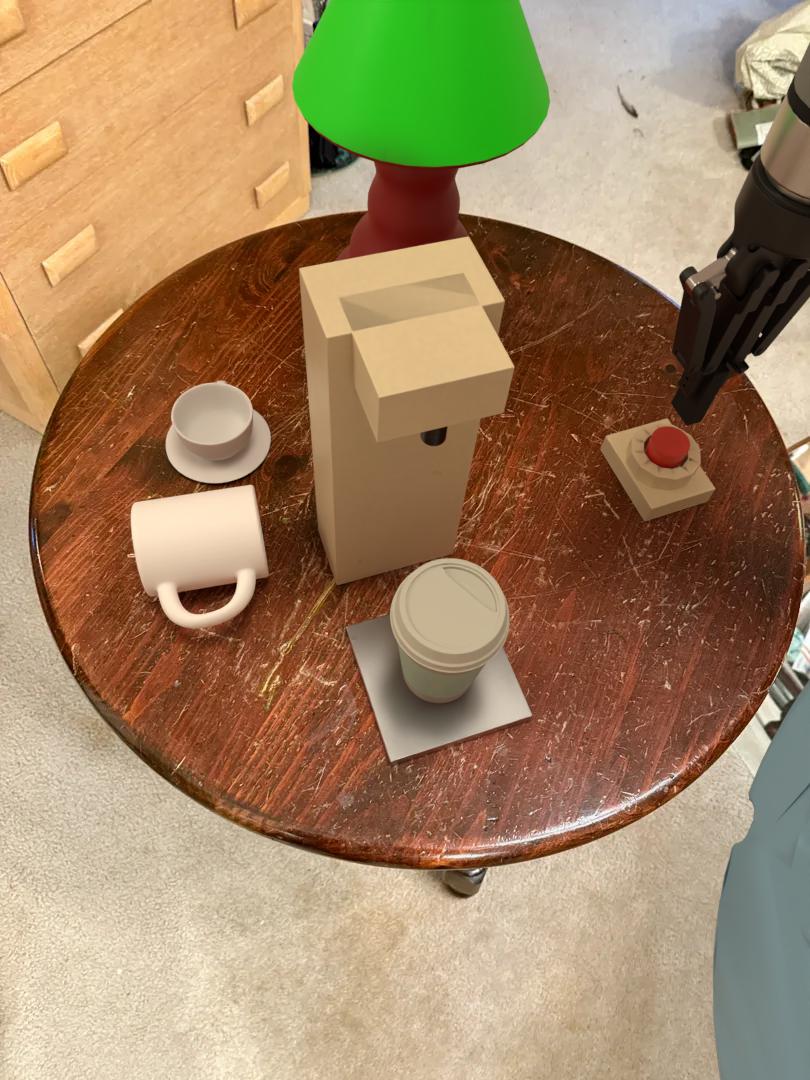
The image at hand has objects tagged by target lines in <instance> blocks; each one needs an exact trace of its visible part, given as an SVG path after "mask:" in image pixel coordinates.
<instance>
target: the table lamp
mask: <svg viewBox="0 0 810 1080" xmlns="http://www.w3.org/2000/svg"><path fill="white" fill-rule="evenodd" d="M291 87H292V93H293V98H294V103H295V104H296V105H297V107H298V109H299V111H300V114H301V115H302V117H303V119H304V120H305V121H306V122H307V123H308V124H309V126H310V127H312V129H314V131H315V132H316V133H317V134H318V135H320V136H321V137H322V138H324V139H325V140H327V141H328V142H329V143H331V145H333V146H335V147H337V148H340V149H341V150H344V151H345V152H348V153H350V154H351V155H353V156H356V157H358V158H361V159H365V160H368V161H371V162H373V164H374V167H375V173H374V177H373V178H372V181H371V183H370V186H369V189H368V192H367V201H366V202H367V203H366V204H367V212H366V213H365V214H364V215H363V216H361V218H360V220H359V221H358V222H357V223H356V225H355V226H354V228H353V231H352V233H351V236H350V240H349V245H348V246H346V247H345V248H344V249H343V250H342V251H341V252H340V253H339V254H338V256H337V257H336V258H335V260H334V261H333V262H335V261H340V260H345V259H351V258H356V257H361V256H367V255H372V254H377V253H383V252H388V251H394V250H399V249H404V248H410V247H415V246H420V245H426V244H431V243H436V242H442V241H447V240H452V239H458V238H463V237H469V234H468V232H467V230H466V228H465V227H464V225H463V224H462V222H461V221H460V220H459V214H460V211H461V210H460V209H461V197H460V192H459V188H458V184H457V181H456V178H457V174H458V171H459V169H465V168H468V167H473V166H479V165H483V164H486V163H490V162H492V161H495V160H497V159H500V158H503V157H505V156H508V155H509V154H511V153H512V152H514V151H516V150H518V149H519V148H521V147H523V146H524V145H525V144H526V143H528V141H529V140H530V139H532V137H534V136H535V134H537V132H538V131H539V130H540V128H541V127H542V125H543V123H544V121H545V120H546V118H548V117H547V116H548V112H549V108H550V104H551V100H550V91H549V85H548V82H547V79H546V76H545V73H544V71H543V68H542V64H541V61H540V58H539V55H538V53H537V49H536V47H535V43H534V40H533V37H532V34H531V31H530V29H529V25H528V21H527V18H526V16H525V13H524V10H523V6H522V3H521V0H328V3H327V5H326V7H325V8H324V11H323V13H322V14H321V16H320V19H319V21H318V23H317V25H316V27H315V29H314V31H313V33H312V35H311V37H310V39H309V41H308V42H307V45H306V47H305V49H304V50H303V53H302V55H301V58H300V59H299V61H298V64H297V65H296V67H295V69H294V72H293V77H292V84H291ZM498 337H499V338H500V337H501V327H500V328H499V333H498Z"/></svg>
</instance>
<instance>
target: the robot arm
mask: <svg viewBox="0 0 810 1080" xmlns="http://www.w3.org/2000/svg"><path fill="white" fill-rule="evenodd" d="M733 209H734V210H733V211H734V212H733V216H734V217H733V218H734V219H733V230H732V232H731V233H730V235H729V236H728V238H727V239H726V240H725V241H724V242H723V243H722V244H721V246H720V247H719V248H718V251H717V253H716V260H714V261H713V262H711V263H709V264H708V265H706V266H705V267H704V268H702V269H701V270H699V271H698V270H697V269H696V268H695V267H694V266H692V265H690V266H687V267H686V268H684V269H683V270H681V272H680V273H679V276H678V280H679V282H680V285H681V287H682V290H683V291H682V296H681V303H680V308H679V312H678V318H677V323H676V328H675V334H674V339H673V344H672V350H671V353H672V354H673V356H674V357H675V358H676V360H677V361H678V363H679V364H680V366H681V367H682V368H683V372H682V374H681V376H680V378H679V380H678V382H677V383H678V384H677V386H678V388H677V390H676V392H675V394H674V396H673V398H672V400H671V402H670V404H671V406H672V407H673V409H674V410H675V412H676V413H677V414H678V416H679V417H680V419H681V421H682V422H683V423H684V425H685V426H686V427H688V426H692V425H695V424H699V423H701V422H702V421H703V419H704V417H705V416H706V414H707V412H708V410H709V409H710V407H711V405H712V404H713V402H714V400H715V398H716V397H717V395H718V393H719V392H720V390H721V389H722V388H723V386H724V385H726V383H727V381H728V379H729V378H730V376H731V374H732V373H733V371H734V372H735V373H736V374H737V375H742V374H744V373H746V372H747V371H748V370H749V369H750V365H749V363H747V362H746V359H747V357H748V356H749V355H752V356H753V357H759V356H761V355H763V354H764V353H766V351H767V350H768V348H769V347H770V346H771V345H772V344H773V342H774V341H775V340H776V339H777V338H778V336H779V335H780V334H781V333H782V331H783V330H784V329H785V328H786V327H787V326H788V324H789V323H790V322H791V321H792V320H793V318H794V317H795V316H796V314H798V313H799V311H800V310H801V309H802V308H803V306H804V305H805V304H806V302H807V301H808V300H809V299H810V42H809V43H808V45H807V47H806V49H805V51H804V54H803V56H802V59H801V60H800V62H799V65H798V67H797V69H796V72H795V74H794V75H793V78H792V79H791V82H790V84H789V86H788V88H787V91H786V94H785V96H784V98H783V100H782V102H781V104H780V106H779V108H778V110H777V113H776V115H775V117H774V119H773V121H772V124H771V126H770V127H769V130H768V132H767V134H766V136H765V138H764V141H763V143H762V145H761V147H760V154H758V155H757V156H756V157H755V159H754V160H753V162H752V164H751V167H750V169H749V171H748V172H747V175H746V177H745V180H744V182H743V184H742V186H741V188H740V190H739V193H738V194H737V197H736V199H735V202H734V208H733ZM760 335H761V336H760ZM747 794H748V801H749V802H750V803H751V804H752V806H753V816H752V817H753V818H752V822H751V824H750V826H749V829H748V831H747V833H746V835H745V837H744V838H743V839H742V840H741V841H739V842H736V843H733V845H732V847H731V849H730V854H729V858H728V862H727V864H726V867H725V871H724V874H723V879H722V886H721V893H720V898H719V901H718V908H717V914H716V915H717V916H716V923H715V932H714V941H713V943H714V944H713V951H712V1019H713V1020H712V1021H713V1030H714V1044H715V1053H716V1061H717V1067H718V1075H719V1080H810V679H809V680H808V681H807V682H806V684H805V685H804V687H803V688H802V690H801V691H800V693H799V694H798V695H797V696H796V698H795V700H794V702H792V705H791V706H790V707H789V709H788V711H787V713H786V714H785V716H784V718H783V720H782V722H781V724H780V725H779V727H778V729H777V731H776V732H775V734H774V735H773V738H772V739H771V741H770V743H769V745H768V747H767V749H766V750H765V752H764V755H763V757H762V759H761V761H760V764H759V766H758V768H757V771H756V773H755V775H754V778H753V780H752V783H751V785H750V788H749V790H748V792H747Z"/></svg>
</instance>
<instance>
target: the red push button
mask: <svg viewBox="0 0 810 1080" xmlns="http://www.w3.org/2000/svg"><path fill="white" fill-rule="evenodd" d="M681 430H682V429H681ZM681 430H679V429H677V428H674V427H670V426H664V427H660V428H658V429H656V430H655V431H654V432H653V434H652V436H651V438H650V440H649V442H648V444H647V446H646V454H647V456H648V458H649V459H650V460H651V461H652V462H653V463H654V464H656V465H658V466H660V467H663V468H674V467H677V466H678V465H680V464H681V463H682V461H683V460H684V458H685V456H686V455H687V453H688V451H689V449H690V441H689V438H688V437H687V435H686V434H685V433H684V432H682V431H681Z"/></svg>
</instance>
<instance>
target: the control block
mask: <svg viewBox="0 0 810 1080" xmlns="http://www.w3.org/2000/svg"><path fill="white" fill-rule="evenodd" d="M664 426H670V427H674V428H677V429H679V430H681V431H682V432H684V433H685V434H686V435H687V437H688V438H689V441H690V449H689V451H688V453H687V455H686V456H685V458H684V460H683V461H682V463H681V464H680V465H678V466H677V467H674V468H663V467H660V466H658V465H656V464H654V463H653V462H652V461H651V460H650V459H649V458H648V456H647V454H646V446H647V444H648V442H649V440H650V438H651V436H652V434H653V432H654V431H655V430H656V429H658V428H660V427H664ZM599 450H600V452H601V455H603V457H604V458H605V460H606V462H607V463H608V465H609V467H610V468H611V470H612V471H613V473H614V475H615V477H616V478H617V479H618V481H619V483H620V484H621V487H622V488H623V489H624V491H625V493H626V494H627V496H628V497H629V499H630V501H631V503H632V504H633V506H634V508H635V509H636V510H637V512H638V514H639V515H640V518H641V519H642V520H643V522H648V521H651V520H655V519H658V518H661V517H663V516H667V515H669V514H670V515H671V514H672V513H676V512H679V511H683V510H686V509H689V508H692V507H695V506H698V505H702V504H705V503H708V501H709V500H710V498H711V497H712V495H713V494H714V492H715V491H716V487H715V486H714V484H713V482H712V481H711V479H710V478H709V477H708V475H707V474H706V472H705V471H704V470H703V468H702V467H701V462H702V459H701V458H702V457H701V448H700V446H699V444H698V443H697V442H696V441H695V438H694V437H693V436H692V434H690V433H689V432H687V431H685V430H683V429H681V428H679V426H676V425H674V424H672V422H671V421H670V419H669V418H668V417H667V418H663V419H660V420H656V421H652V422H649V423H646V424H642V425H639V426H635V427H632V428H628V429H625V430H621V431H618V432H614V433H610V434H607V435H605V436H604V438H603V441H602V444H601V445H600V448H599Z"/></svg>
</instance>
